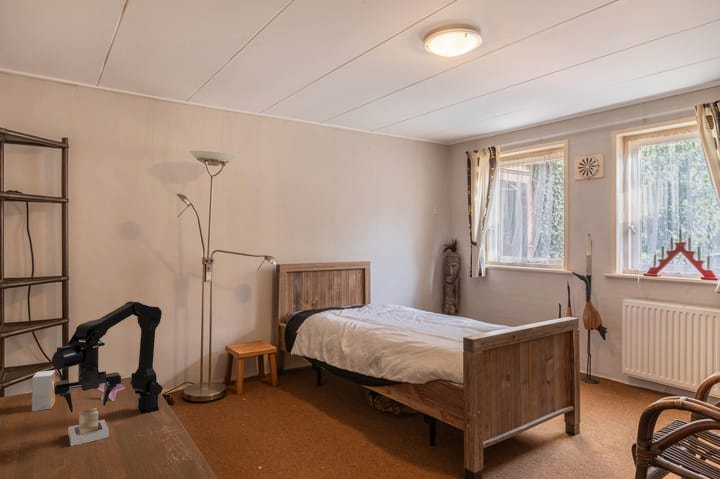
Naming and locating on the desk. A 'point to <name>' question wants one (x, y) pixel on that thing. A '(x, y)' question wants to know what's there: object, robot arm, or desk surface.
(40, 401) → the small box
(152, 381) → the robot arm
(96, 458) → the desk surface
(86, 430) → the peg
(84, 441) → the rectangular frame
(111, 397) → the lily
